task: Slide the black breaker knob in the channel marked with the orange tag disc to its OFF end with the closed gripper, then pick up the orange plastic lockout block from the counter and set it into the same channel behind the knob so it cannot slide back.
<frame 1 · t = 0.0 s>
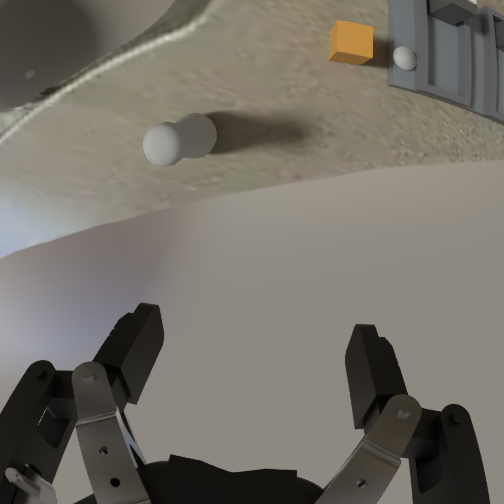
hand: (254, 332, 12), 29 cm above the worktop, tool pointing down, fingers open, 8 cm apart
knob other: (451, 2, 18), point 6 cm above the worktop, slide at 0.0 cm
salt shaker: (199, 134, 36), on the worktop
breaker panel: (466, 54, 25), on the worktop
lockout block: (344, 48, 29), on the worktop
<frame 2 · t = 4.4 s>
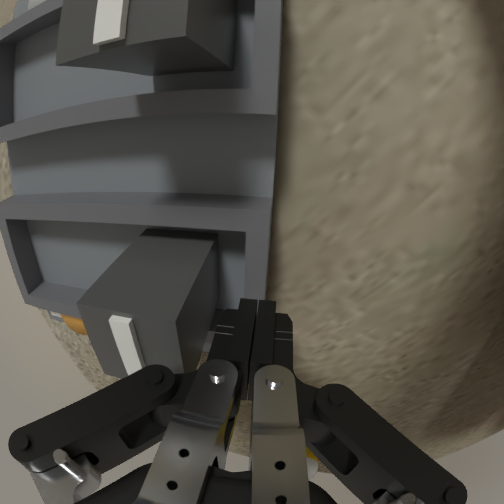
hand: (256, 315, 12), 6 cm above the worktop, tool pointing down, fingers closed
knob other: (163, 13, 7), point 6 cm above the worktop, slide at 0.0 cm
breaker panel: (121, 150, 15), on the worktop
knob tagged: (160, 302, 13), point 6 cm above the worktop, slide at 0.6 cm
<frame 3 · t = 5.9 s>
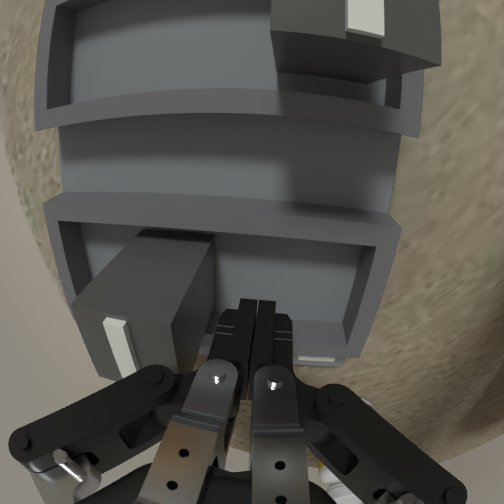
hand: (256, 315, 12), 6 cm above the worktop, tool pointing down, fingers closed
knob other: (338, 12, 7), point 6 cm above the worktop, slide at 0.0 cm
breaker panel: (215, 149, 15), on the worktop
knob tagged: (156, 304, 13), point 6 cm above the worktop, slide at 6.5 cm, touching gripper
supplement bottle: (344, 408, 24), on the worktop
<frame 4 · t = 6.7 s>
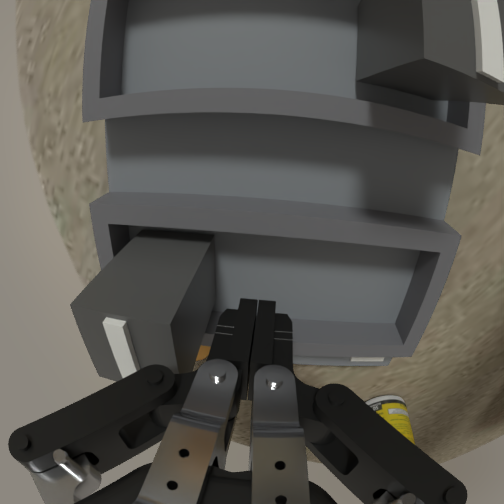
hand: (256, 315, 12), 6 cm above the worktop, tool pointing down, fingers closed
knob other: (433, 36, 6), point 6 cm above the worktop, slide at 0.0 cm
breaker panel: (282, 152, 15), on the worktop
knob tagged: (156, 304, 13), point 6 cm above the worktop, slide at 10.0 cm, touching gripper
supplement bottle: (378, 406, 24), on the worktop
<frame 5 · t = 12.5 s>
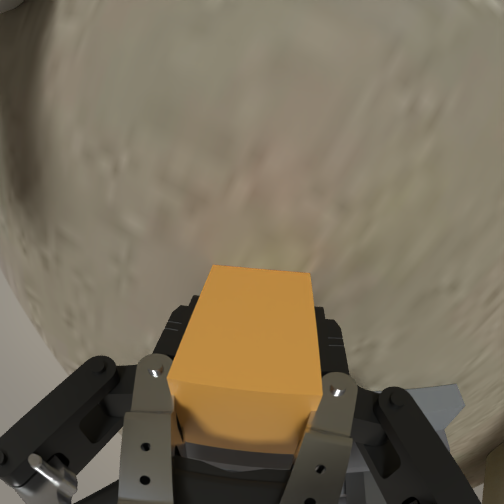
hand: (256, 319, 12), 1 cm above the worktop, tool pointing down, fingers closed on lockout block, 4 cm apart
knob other: (381, 500, 13), point 6 cm above the worktop, slide at 0.0 cm
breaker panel: (300, 466, 21), on the worktop
lockout block: (258, 307, 13), on the worktop, touching gripper
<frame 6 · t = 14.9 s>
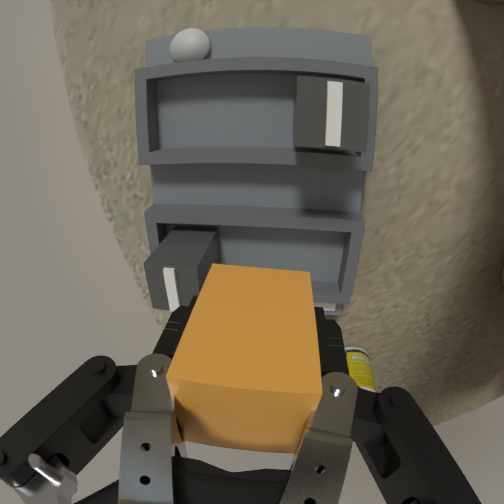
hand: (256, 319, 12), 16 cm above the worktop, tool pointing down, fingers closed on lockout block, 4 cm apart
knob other: (325, 113, 17), point 6 cm above the worktop, slide at 0.0 cm
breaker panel: (256, 177, 25), on the worktop
lockout block: (258, 306, 13), point 15 cm above the worktop, touching gripper
knob tagged: (186, 266, 23), point 6 cm above the worktop, slide at 10.0 cm
supplement bottle: (347, 358, 34), on the worktop
when the fingers open (5 cm above the worktop, at t = 17.6 s): lockout block drops 2 cm, resting on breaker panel.
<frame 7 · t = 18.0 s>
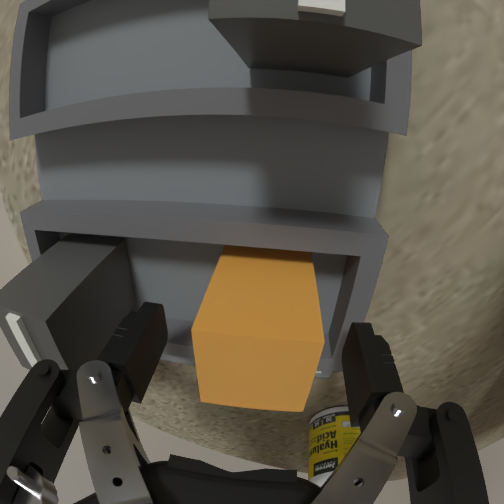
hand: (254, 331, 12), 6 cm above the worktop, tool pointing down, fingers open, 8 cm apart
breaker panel: (190, 152, 14), on the worktop
lockout block: (265, 283, 15), point 2 cm above the worktop, touching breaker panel
knob tagged: (67, 304, 12), point 6 cm above the worktop, slide at 10.0 cm
supplement bottle: (336, 417, 23), on the worktop
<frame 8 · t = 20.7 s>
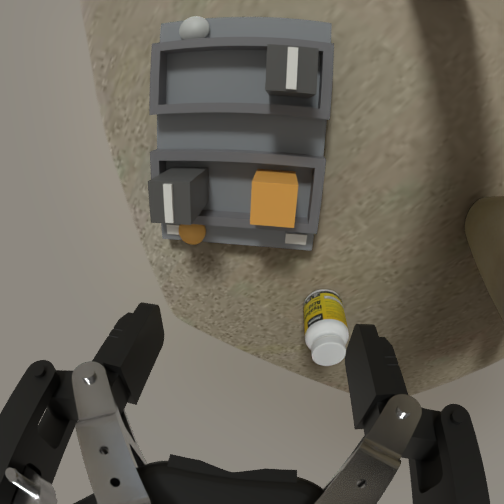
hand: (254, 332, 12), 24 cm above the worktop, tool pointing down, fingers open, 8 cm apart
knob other: (290, 73, 22), point 6 cm above the worktop, slide at 0.0 cm
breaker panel: (240, 129, 30), on the worktop
lockout block: (275, 188, 31), point 2 cm above the worktop, touching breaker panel
knob tagged: (180, 193, 28), point 6 cm above the worktop, slide at 10.0 cm
supplement bottle: (322, 302, 40), on the worktop
plant pot: (481, 220, 31), on the worktop
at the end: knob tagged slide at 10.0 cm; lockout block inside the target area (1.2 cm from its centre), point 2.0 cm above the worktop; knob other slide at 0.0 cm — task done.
